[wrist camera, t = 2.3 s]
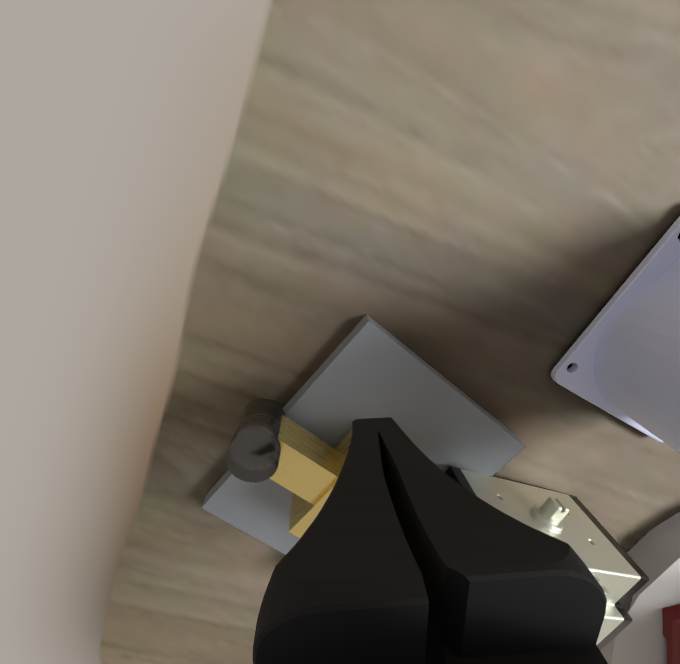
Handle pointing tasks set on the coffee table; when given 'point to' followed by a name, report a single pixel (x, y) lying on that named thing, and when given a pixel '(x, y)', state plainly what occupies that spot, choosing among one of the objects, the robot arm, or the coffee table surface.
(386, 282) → the coffee table surface
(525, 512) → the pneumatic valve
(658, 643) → the gramophone
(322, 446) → the square nut with handle
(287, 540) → the plate
